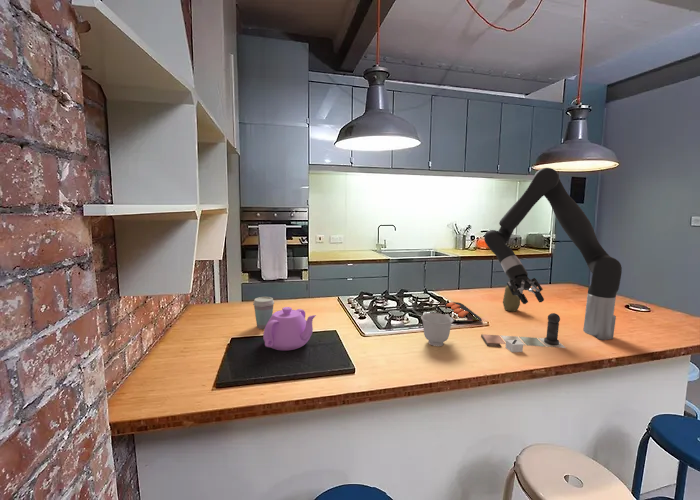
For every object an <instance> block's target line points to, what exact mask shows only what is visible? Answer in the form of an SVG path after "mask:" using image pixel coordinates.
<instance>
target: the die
mask: <svg viewBox="0 0 700 500" xmlns="http://www.w3.org/2000/svg"><path fill="white" fill-rule="evenodd" d="M505 343H506V344H505V349H507V350H508V351H509V352H511V353H523V349H524V345H523V344H522V343H521V342H519V341H517V340H506V342H505Z"/></svg>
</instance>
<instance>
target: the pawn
mask: <svg viewBox="0 0 700 500" xmlns="http://www.w3.org/2000/svg"><path fill="white" fill-rule="evenodd" d="M560 322H561V316H559V314H557V313H555V312H554V313H553V312H552V313H549V314H548V316H547V328H546V335H545V337H543V338H544V342H545V343H547V344H550V345H559V342H560V340H559V339H558V336H559V327H560Z"/></svg>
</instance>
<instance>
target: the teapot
mask: <svg viewBox="0 0 700 500" xmlns="http://www.w3.org/2000/svg"><path fill="white" fill-rule="evenodd" d="M316 317H317V315H309V316H308V317H307V319H306V311H305V310H304V309H302V308H298V309H293V308H292V307H290V306H285V307H282V309H281V310H278V311H277V310H276V311H275V312H273V314H272V316H271V318H270V319H269V321H268V322H267V324H266V327H265V329H263V335H262V336H263V337H262V338H263V341H264V346H265V348H271V349H273V350H277V351H293V350H297V349H300V348H302V347H304V346H305V345H306V344H307V343H308V341H309V340H310V339H311V336H312V334H313V331H314V328H313V320H314V318H316Z"/></svg>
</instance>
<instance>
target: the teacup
mask: <svg viewBox="0 0 700 500" xmlns="http://www.w3.org/2000/svg"><path fill="white" fill-rule="evenodd" d="M439 313H440V312H435V313H427V312H426V313H423V314H422V315H421V316H420V319H421V320H422V326H423V335H424V338H425V339H426V340H427V341H428V344H429V345H431V346H432V347H433V346H434V347H443V345H444V343H445V342H446V341H447V340H448V339H449V336H450V333H451V327H452V323H453V322H455V321H454V319H453V318H452V317H450V315H449V314H445V315H444V313H443V314H439Z"/></svg>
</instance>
